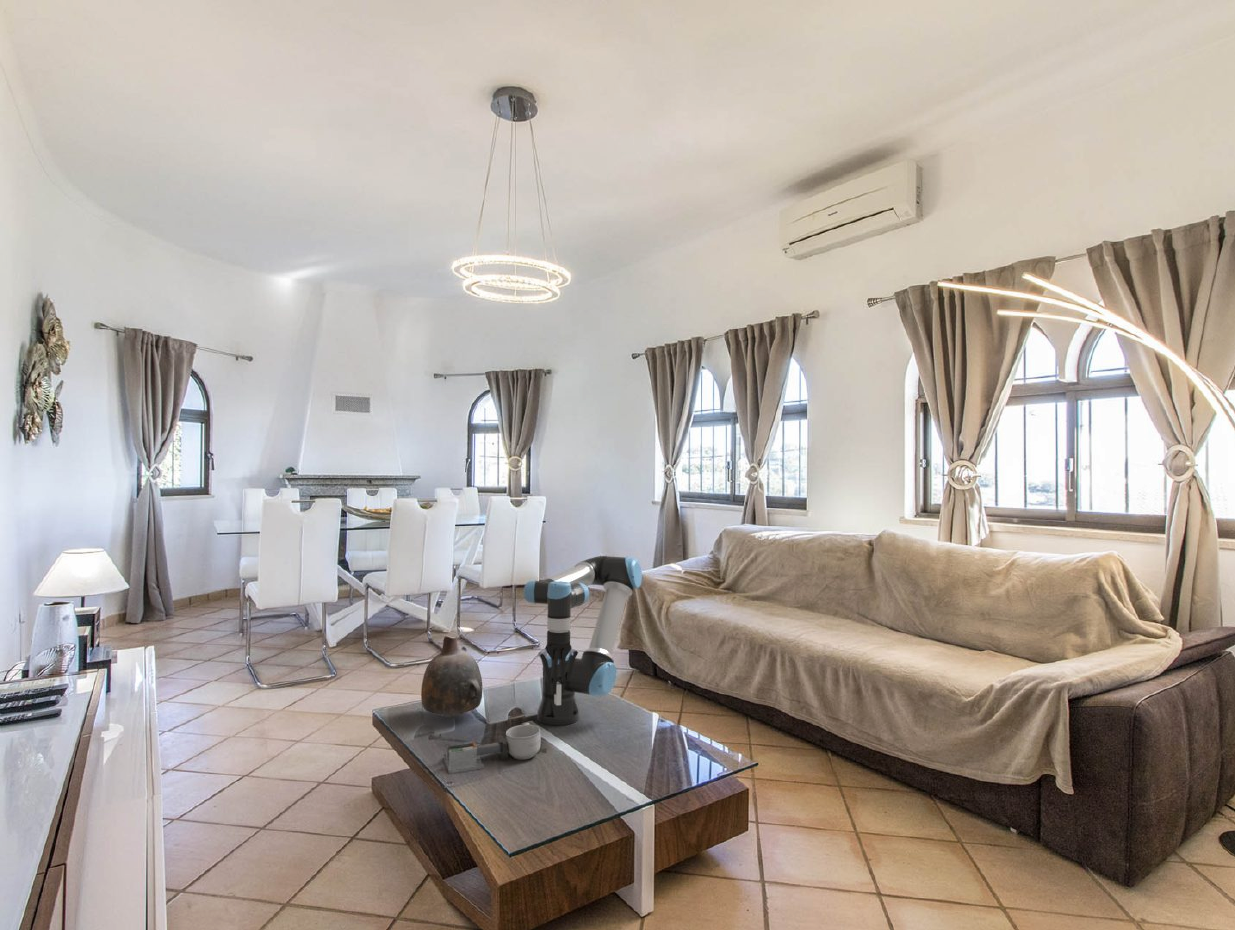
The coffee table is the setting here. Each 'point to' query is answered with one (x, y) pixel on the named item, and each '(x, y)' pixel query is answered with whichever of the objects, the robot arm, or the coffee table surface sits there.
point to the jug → (451, 682)
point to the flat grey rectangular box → (462, 758)
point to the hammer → (493, 748)
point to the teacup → (523, 741)
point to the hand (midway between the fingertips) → (557, 703)
